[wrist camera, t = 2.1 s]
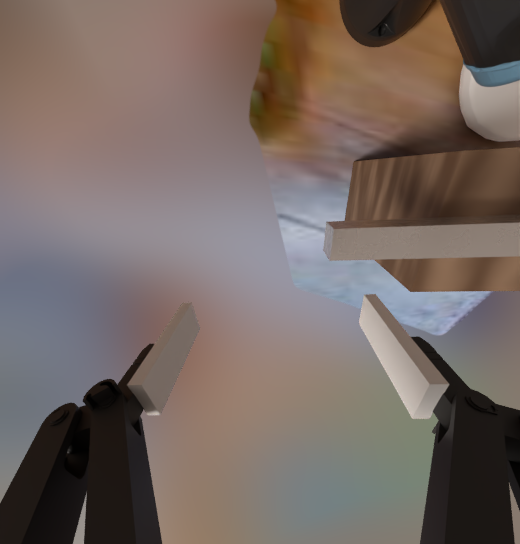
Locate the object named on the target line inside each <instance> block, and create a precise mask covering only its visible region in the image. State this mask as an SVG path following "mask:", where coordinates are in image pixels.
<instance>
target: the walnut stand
mask: <svg viewBox="0 0 520 544" xmlns="http://www.w3.org/2000/svg"><path fill="white" fill-rule="evenodd" d="M496 215H520V147H515V148H499V149H483V150H466V151H455V152H445V153H435V154H425V155H415V156H404V157H394V158H384V159H374V160H364V161H354V163H353V170H352V176H351V183H350V189H349V196H348V202H347V209H346V216H345V221H362V220H389V219H416V218H443V217H470V216H496ZM375 261H376V262H377V263H379V264H380V265H381V266H382V267H383V268H384V269H385V270H386V271H388V272H389V273H390V274H391V275H392V276H393V277H394V278H395V279H397V280H398V281H399V282H400V283H401V284H402V285H403V286H404V287H406V288H407V289H408V290H409V291H410V292H438V291H520V256H513V257H468V258H423V259H378V260H375Z"/></svg>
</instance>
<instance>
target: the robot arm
mask: <svg viewBox="0 0 520 544" xmlns="http://www.w3.org/2000/svg"><path fill="white" fill-rule="evenodd" d="M431 2H432V0H340V10H341V15H342V19H343V22H344V25H345V27H346V29H347V31H348V32H349V34H350V35H351V36H352V37H353V38H354V39H355V40H356V41H357V42H359V43H360V44H362V45H365V46H368V47H380V46H384V45H387V44H389V43H392V42H393V41H395V40H397V39H398V38H400V37H401V36H402V35H403V34H405V33H406V32H407V31H408V30H409V29H410V28H411V27H412V26H413V25H414V24H415V23H416V21H417V20H418V19H419V18H420V17H421V16H422V15H423V13H424V12H425V11H426V9H427V8H428V6H429V5H430V3H431ZM440 3H441V5H442V8H443V10H444V13H445V15H446V18H447V20H448V22H449V25H450V27H451V30H452V32H453V35H454V37H455V40H456V42H457V45H458V47H459V49H460V52H461V54H462V57H463V64H464V65H465V67H466V68H467V69H468V70H470V72H471V74H472V76H473V78H474V79H475V81H476V83H478V84H479V85H481V86H484V87H497V86H502V85H506V84H509V83H513V82H516V81H519V80H520V0H440ZM359 324H360V326H361V328H362V330H363V331H364V333H365V335H366V337H367V339H368V340H369V342H370V344H371V346H372V347H373V349H374V351H375V353H376V355H377V356H378V358H379V360H380V362H381V364H382V365H383V367H384V369H385V371H386V372H387V374H388V376H389V378H390V380H391V381H392V383H393V385H394V387H395V389H396V390H397V392H398V394H399V396H400V397H401V399H402V401H403V403H404V404H405V406H406V408H407V410H408V412H409V413H410V415H411V417H412V418H413V419H429V418H430V417H431V415H432V413H433V412H434V414H435V415H436V417H437V418H438V420H439V421H438V423H437V424H436V426H435V428H434V429H433V431H432V432H433V433H434V434H435V433H436V436H435V442H434V449H433V456H432V463H431V470H430V477H429V485H428V491H427V498H426V505H425V512H424V519H423V526H422V533H421V540H420V544H515V543H514V532H513V521H512V511H511V501H510V490H509V483H510V486H511V489H512V491H513V494H514V497H515V499H516V502H517V505H518V508H519V510H520V410H516V409H513V408H509V407H505V406H502V405H498V404H495V403H494V402H493V401H492V400H490V399H489V398H488V397H487V396H485V395H483V394H481V393H479V392H478V391H474V390H472V389H470V388H469V387H468V386H467V385H466V384H465V383H464V382H463V381H462V379H461V378H460V377H459V376H458V375H457V374H456V373H455V372H454V371H453V369H452V368H451V367H450V366H449V365H448V364H447V363H446V362H445V361H444V360H443V358H442V357H441V356H440V355H439V354H438V353H437V352H436V351H435V349H434V348H433V347H432V346H431V345H430V344H429V343H427V342H426V341H425V340H423V339H422V338H420V337H410V336H409V335H408V334H407V332H406V331H405V330H404V329H403V328H402V326H401V325H400V324H399V322H398V321H397V320H396V319H395V318H394V316H393V315H392V314H391V313H390V311H389V310H388V309H387V308H386V307H385V305H384V304H383V303H382V302H381V301H380V299H379V298H378V297H377V296H376V294H369V295H364V299H363V304H362V309H361V315H360V320H359ZM199 330H200V327H199V324H198V321H197V318H196V315H195V311H194V308H193V305H192V303H182V304H181V306H180V307H179V309H178V310H177V312H176V313H175V315H174V316H173V318H172V319H171V321H170V322H169V324H168V325H167V327H166V328H165V330H164V331H163V333H162V334H161V336H160V337H159V339H158V340H157V341H156V343H155V344H149V345H148V346H147V347H146V348H144V349H143V350H142V352H141V353H140V354H139V356H138V357H137V359H136V360H135V361H134V363H133V365H131V367H130V368H129V370H128V371H127V372H126V374H125V375H124V376H123V378H122V379H121V381H120V382H119V383H118V385H117V384H116V382H115V381H114V380H112V379H107V380H103V381H101V382H99V383H97V384H96V385H94V386H93V387H92V388H91V389H90V390H89V391H88V392H87V393H86V395H85V396H84V399H83V402H84V403H85V404H86V405H85V406H82V407H78V406H77V405H76V404H75V403H68V404H65V405H62V406H61V407H59V408H57V409H56V410H54V411H53V412H52V413H51V414H50V415H49V416H48V417H47V418H46V419H45V421H44V422H43V423H42V425H41V427H40V429H39V431H38V433H37V434H36V436H35V438H34V440H33V442H32V444H31V446H30V448H29V450H28V452H27V454H26V455H25V457H24V459H23V461H22V463H21V465H20V467H19V469H18V471H17V473H16V474H15V476H14V478H13V480H12V482H11V484H10V486H9V488H8V490H7V492H6V494H5V496H4V498H3V499H2V501H1V503H0V544H73V540H74V537H75V533H76V529H77V525H78V522H79V518H80V514H81V510H82V506H83V503H84V499H85V495H86V492H87V500H86V519H85V536H84V544H162V540H161V533H160V527H159V522H158V516H157V509H156V503H155V497H154V491H153V485H152V479H151V473H150V467H149V461H148V455H147V448H146V442H145V437H144V431H143V424H142V419H141V417H140V415H141V413H142V411H143V409H144V410H145V412H146V413H147V415H161V413H162V411H163V408H164V406H165V404H166V402H167V400H168V397H169V395H170V393H171V391H172V389H173V386H174V384H175V382H176V380H177V378H178V376H179V373H180V371H181V369H182V367H183V365H184V362H185V360H186V358H187V356H188V354H189V351H190V349H191V347H192V345H193V343H194V341H195V338H196V336H197V334H198V332H199Z"/></svg>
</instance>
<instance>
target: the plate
mask: <svg viewBox="0 0 520 544" xmlns="http://www.w3.org/2000/svg"><path fill="white" fill-rule="evenodd" d="M459 101H460V109H461V112H462V115H463V117H464V120H465V122H466V125H467V127H469V128H470V129H472V130H473V131H475V132H476V133H478V134H479V135H481V136H482V137H484V138H485V139H489V140H493V141H498V142H505V141H520V80H519V81H516V82H513V83H509V84H506V85H502V86H497V87H484V86H481V85H479V84H478V83H476V81H475V79H474V78H473V76H472V74H471V72H470V70H468V69H467V68H466V67H465V65H464V64H463V68H462V71H461V77H460V88H459Z"/></svg>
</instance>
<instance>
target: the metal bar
mask: <svg viewBox="0 0 520 544" xmlns="http://www.w3.org/2000/svg"><path fill="white" fill-rule="evenodd" d="M323 251H324V252H325V254H326V255H327V257H328V259H329V260H330V261H333V260H378V259H423V258H468V257H513V256H520V215H496V216H470V217H443V218H416V219H389V220H362V221H336V222H326V231H325V240H324V249H323Z"/></svg>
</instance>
